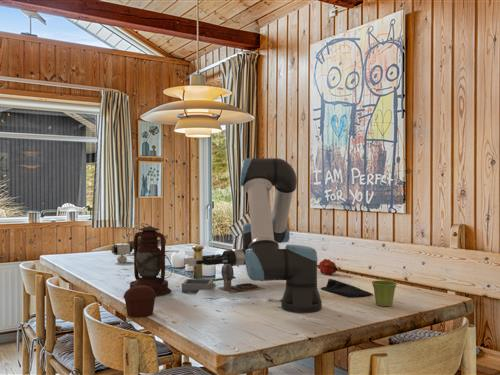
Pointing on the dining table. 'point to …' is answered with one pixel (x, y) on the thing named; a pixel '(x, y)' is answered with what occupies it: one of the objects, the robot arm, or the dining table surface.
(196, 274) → the lock pin
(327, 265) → the red bumpy oval lump
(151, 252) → the lantern
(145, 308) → the muffin
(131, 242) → the wood carving
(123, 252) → the pneumatic valve
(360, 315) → the dining table surface
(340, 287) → the dark slate chunk
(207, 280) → the tray
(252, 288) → the board
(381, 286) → the plant pot
